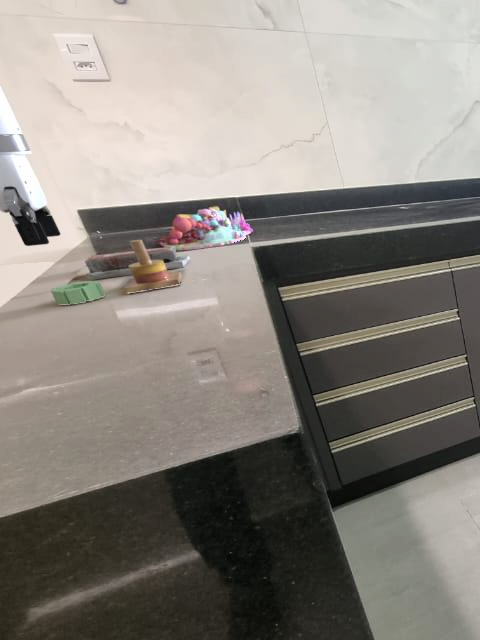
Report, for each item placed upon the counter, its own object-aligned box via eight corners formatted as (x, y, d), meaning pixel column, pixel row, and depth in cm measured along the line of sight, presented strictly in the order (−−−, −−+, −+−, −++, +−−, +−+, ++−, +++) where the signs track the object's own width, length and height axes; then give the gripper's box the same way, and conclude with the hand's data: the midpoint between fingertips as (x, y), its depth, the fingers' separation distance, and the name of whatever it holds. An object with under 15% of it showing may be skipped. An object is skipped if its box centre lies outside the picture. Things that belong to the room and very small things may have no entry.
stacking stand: (126, 295, 111) (103, 247, 106) (132, 285, 117) (110, 240, 113) (180, 286, 115) (160, 240, 111) (182, 277, 122) (164, 233, 118)
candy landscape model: (147, 244, 158) (133, 213, 154) (236, 229, 175) (225, 200, 171) (177, 253, 145) (163, 219, 141) (270, 236, 162) (259, 205, 158)
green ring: (55, 308, 104) (47, 293, 103) (63, 299, 110) (55, 285, 108) (102, 300, 108) (95, 286, 107) (107, 292, 113) (101, 278, 112)
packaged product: (78, 261, 120) (91, 252, 128) (88, 281, 122) (101, 272, 130) (176, 248, 128) (183, 241, 136) (185, 267, 130) (191, 259, 138)
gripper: (-17, 145, 100) (28, 235, 107) (-51, 149, 87) (2, 251, 95) (39, 143, 104) (79, 231, 111) (14, 147, 91) (61, 245, 99)
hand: (44, 240), depth 103 cm, fingers open, 9 cm apart
